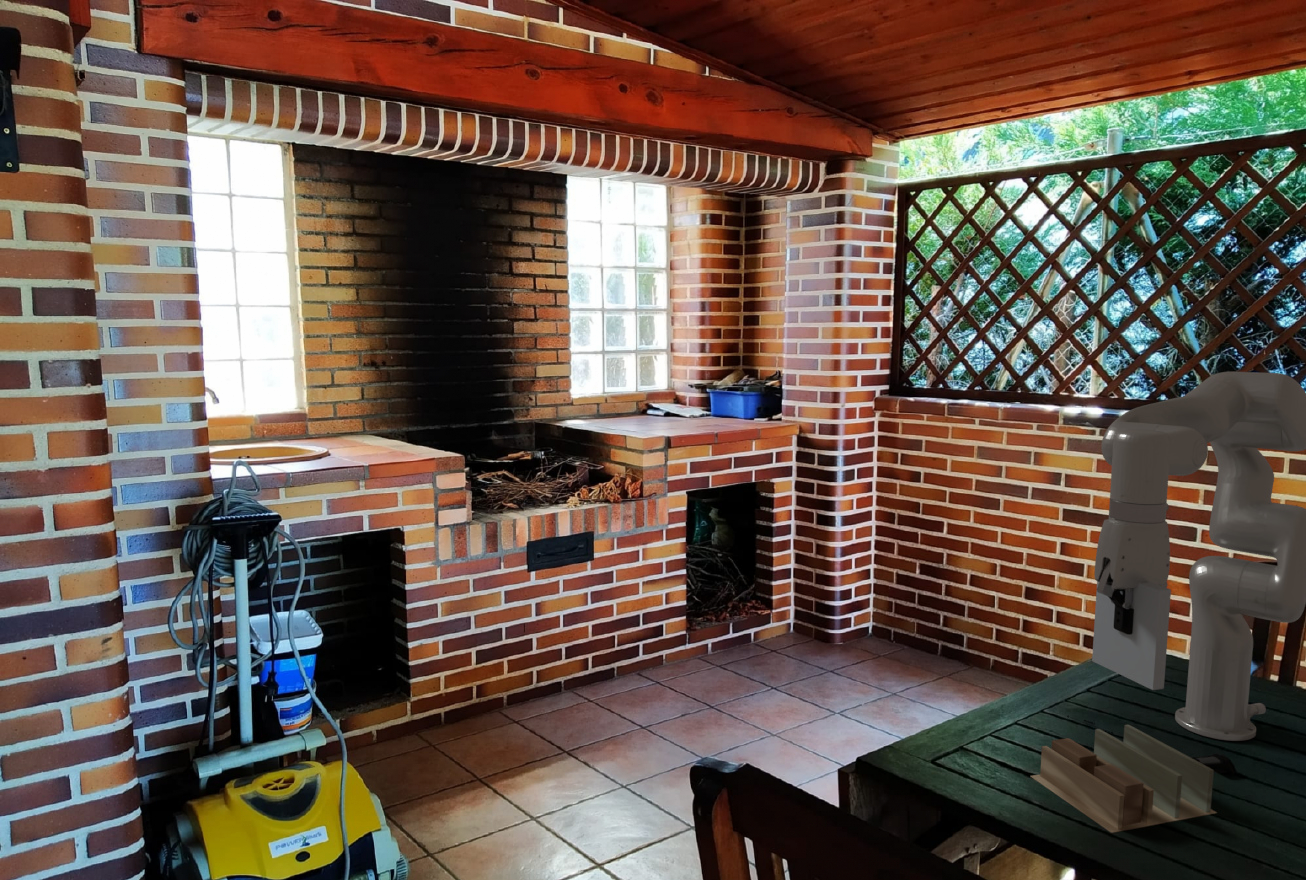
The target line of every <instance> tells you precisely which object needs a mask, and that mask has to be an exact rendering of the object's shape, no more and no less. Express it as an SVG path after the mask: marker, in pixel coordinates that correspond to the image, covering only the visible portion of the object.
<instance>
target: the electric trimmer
mask: <svg viewBox="0 0 1306 880" xmlns="http://www.w3.org/2000/svg"><path fill="white" fill-rule="evenodd" d="M1191 758H1192V759H1194V760H1196V761H1198V762H1200V763H1202V764H1203V765H1205V766H1207V767H1209V768H1211V769H1213V770H1214V772H1215V773H1216V774H1227V775H1230V776H1234V775H1236V774H1237V773H1238V772H1237V769H1236V766H1235V765H1234V763H1233V762H1232V761H1231V759H1230V758H1229V757H1227V756H1226V755H1224V754H1219V753H1213V754H1211V755H1206V756H1204V755H1203V756H1195V757H1194V756H1193V757H1191Z"/></svg>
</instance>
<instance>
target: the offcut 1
mask: <svg viewBox="0 0 1306 880" xmlns="http://www.w3.org/2000/svg"><path fill="white" fill-rule="evenodd" d="M1051 749H1052V750H1054V751H1055V752H1057V753H1058V754H1060V755H1062V756H1063V757H1065V758H1066V759H1068V760H1070V761H1071V762H1073V763H1074V764H1076V765H1077V766H1079V767H1081V768H1082V769H1084V770H1085V771H1087V772H1089V773H1090V774H1092V775H1093V776H1094V767H1096V760H1097V755H1096V754H1094V751H1093V752H1092V751H1090V750H1089V749H1088V748H1086V747H1084V746H1083V745H1081V744H1079V743H1078V742H1076V741H1074V740H1073V739H1071V738H1069V737H1068V738H1067V737H1066V738H1061V739H1060V738H1059V739H1055V740H1051Z"/></svg>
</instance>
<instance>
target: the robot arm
mask: <svg viewBox="0 0 1306 880" xmlns="http://www.w3.org/2000/svg"><path fill="white" fill-rule="evenodd" d="M1209 443H1210V446H1211V449H1212V452H1213V454H1214V456H1215V459H1216V463H1217V471H1218V472H1217V480H1216V486H1215V491H1214V497H1213V501H1212V502H1213V503H1212V507H1211V508H1212V509H1211V513H1210V518H1209V519H1210V520H1209V525H1208V526H1209V527H1208V534H1209V539H1210V541H1212V543H1213V544H1214V545H1216V546H1217V547H1220V548H1223V549H1226V550H1230V551H1235V552H1241V553H1247V554H1253V555H1258V556H1264V557H1270V558H1274V559H1276V562H1277V565H1274V564H1268V563H1264V562H1263V563H1262V562H1258V561H1253V560H1247V559H1241V558H1238V557H1237V558H1235V557H1229V556H1222V555H1208V556H1204V557H1201V558H1198V559H1197V560H1196V561H1195V562H1194V563H1193V564H1192V566H1191V568H1190V571H1189V577H1188V579H1189V580H1188V582H1189V590H1190V591H1189V592H1190V600H1191V633H1190V647H1189V658H1188V659H1189V660H1188V669H1187V670H1188V672H1187V674H1188V675H1187V686H1186V695H1185V696H1186V697H1185V698H1186V699H1185V707H1184V706H1183V707H1181V708H1178V709H1177V710H1176V711H1175V714H1174V719H1175V722H1176V723H1178V724H1179V726H1181V727H1182V728H1184V729H1185V730H1188V731H1189V732H1191V733H1195V734H1197V735H1200V736H1201V737H1202V736H1203V737H1207V738H1211V739H1215V740H1221V741H1228V742H1229V741H1230V742H1231V741H1232V742H1241V741H1250V740H1251V739H1253V738H1255V737H1256V735H1257V727H1256V726H1255V724H1254V723H1253V722H1252V721H1251V718H1252V717H1253V716H1255V715H1262V714H1263V715H1264V714H1265V713H1266V711H1267V710H1266V709H1267V708H1266V706H1265V704H1263V703H1262V702H1258V703H1256V702H1255V703H1251V704H1249V697H1250V696H1249V695H1250V683H1251V675H1252V674H1251V671H1252V664H1253V663H1252V661H1253V652H1254V651H1253V650H1254V649H1253V648H1254V637H1253V634H1252V631H1251V630H1252V629H1251V628H1250V627H1249V625H1248V622H1247V621H1246V620H1245V618H1244V616H1249V617H1253V618H1257V619H1263V620H1266V621H1272V622H1273V621H1274V622H1276V623H1283V624H1284V623H1286V624H1287V623H1288V624H1289V623H1294V622H1296V621H1297V620H1299V619H1300V618H1301V616H1303V614H1304V613H1303V612H1304V610H1305V607H1306V508H1305V507H1302V506H1298V505H1293V504H1287V503H1278V502H1273V501H1272V496H1273V495H1272V493H1273V488H1274V481H1275V473H1274V470H1273V468H1272V466H1271V465H1270V463H1269V461H1268V460H1267V459H1266V457H1265V456H1264V455H1263V454H1262V452H1261V451H1260V450H1259V449H1265V450H1275V451H1276V450H1277V451H1285V452H1302V451H1305V450H1306V390H1304V388H1303V386H1302V385H1301V384H1300V383H1299V382H1298V381H1297V380H1296V379H1294V378H1293V377H1291V376H1289V375H1287V374H1284V373H1281V372H1280V373H1279V372H1251V371H1223V372H1217V373H1215V374H1212V375H1211V376H1209V377H1207V378H1206V379H1205V380H1203V381H1202V382H1201V383H1199V384H1198V385H1196V386H1195V387H1194V388H1193V389H1192V390H1190V391H1189V392H1188V393H1186V394H1185V395H1184V396H1178V397H1174V398H1170V399H1165V400H1161V401H1157V402H1154V403H1149V404H1146V405H1145V404H1144V405H1141V406H1137V407H1135V408H1133V409H1130V410H1128V411H1126V412H1125V413H1123V414H1122V415H1120V416H1119V417H1117V418H1116V419H1115V420H1114V421H1113V422H1112V423H1111V424H1110V425H1109V426H1108V427H1107V429H1106V430H1105V432H1104V434H1103V436H1102V440H1101V444H1100V445H1101V447H1100V448H1101V449H1100V450H1101V455H1102V457H1103V458H1104V460H1105V462H1106V463H1107V464H1109V466H1111V473H1110V474H1111V475H1110V492H1109V504H1108V505H1109V508H1108V519H1104V520H1103V523H1102V526H1101V529H1100V533H1099V537H1098V542H1097V548H1096V556H1095V562H1094V574H1093V575H1094V580H1095V581H1096V582H1097V581H1098V582H1099V584H1098V587H1097V586H1096V591H1097V592H1098V593H1101V594H1103V595H1106V596H1108V597H1109V598H1110V600H1111V603H1112V604H1115V610H1114V629H1116V630H1118V631H1120V632H1123V633H1125V634H1128V635H1129V634H1132V632H1133V617H1134V609H1132V608H1130V607H1131V601H1132V589H1134V588H1137V587H1138V583H1148V582H1150V583H1153V584H1156V585H1159V586H1162V587H1165V588H1168V579H1169V575H1170V574H1169V573H1170V569H1171V568H1170V567H1171V565H1170V562H1171V543H1170V542H1171V541H1170V531H1169V526H1168V522H1167V520H1166V518H1167V512H1168V510H1169V508H1170V505H1169V504H1168V503H1167V502H1168V489H1169V487H1168V486H1169V476H1179V477H1180V476H1181V477H1182V476H1185V477H1186V476H1189V475H1192V474H1194V473H1196V472H1197V471H1199V470H1200V469H1201V468H1202V467H1203V465H1204V464H1205V462H1206V461H1207V458H1208V455H1209V447H1208V446H1209V445H1208V444H1209ZM1111 586H1112V588H1111ZM1120 591H1122V592H1123V595H1122V594H1121V593H1120Z"/></svg>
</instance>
